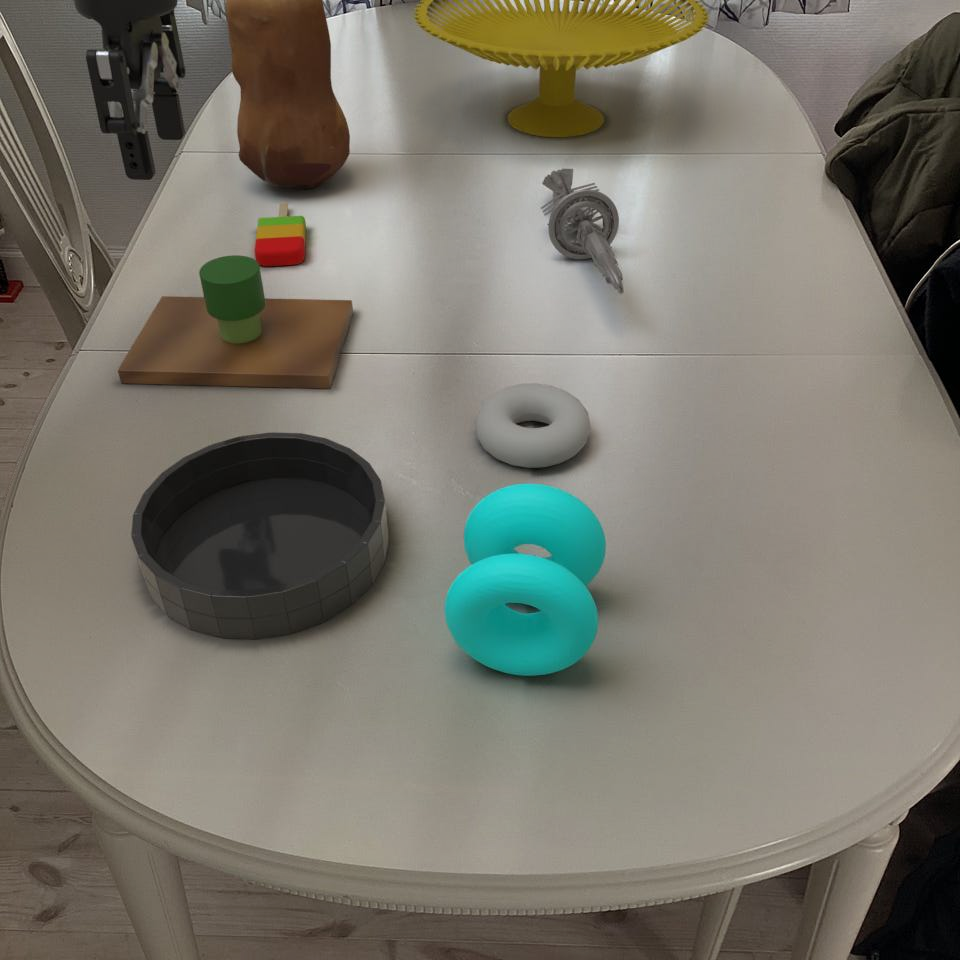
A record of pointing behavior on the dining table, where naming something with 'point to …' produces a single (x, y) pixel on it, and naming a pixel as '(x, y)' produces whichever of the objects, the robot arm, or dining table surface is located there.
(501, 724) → the dining table surface
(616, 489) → the dining table surface
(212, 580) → the pan
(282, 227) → the popsicle
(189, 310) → the board
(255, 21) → the butternut squash
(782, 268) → the dining table surface
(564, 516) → the donuts
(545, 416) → the donut
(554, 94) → the cake stand
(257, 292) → the green cylinder
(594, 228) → the spaceship
